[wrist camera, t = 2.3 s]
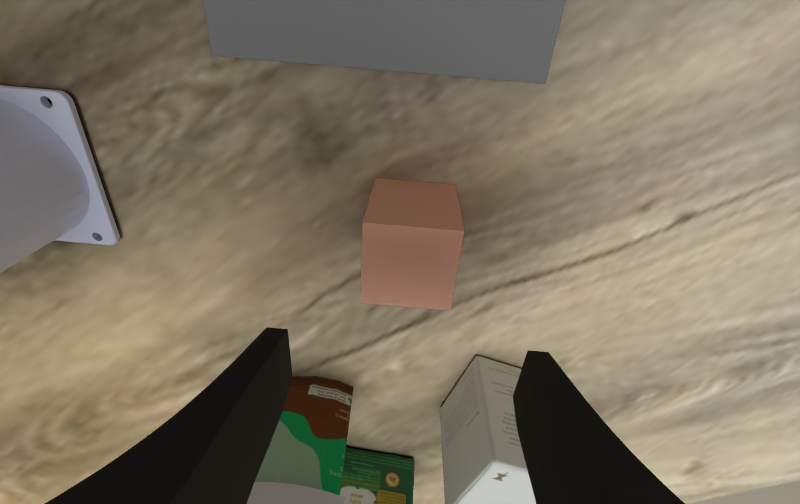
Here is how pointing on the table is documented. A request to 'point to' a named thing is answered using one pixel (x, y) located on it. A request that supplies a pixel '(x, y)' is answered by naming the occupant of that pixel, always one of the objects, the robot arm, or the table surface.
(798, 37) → the table surface
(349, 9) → the mat
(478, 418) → the product box
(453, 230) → the block
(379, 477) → the coffee box
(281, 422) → the food container
